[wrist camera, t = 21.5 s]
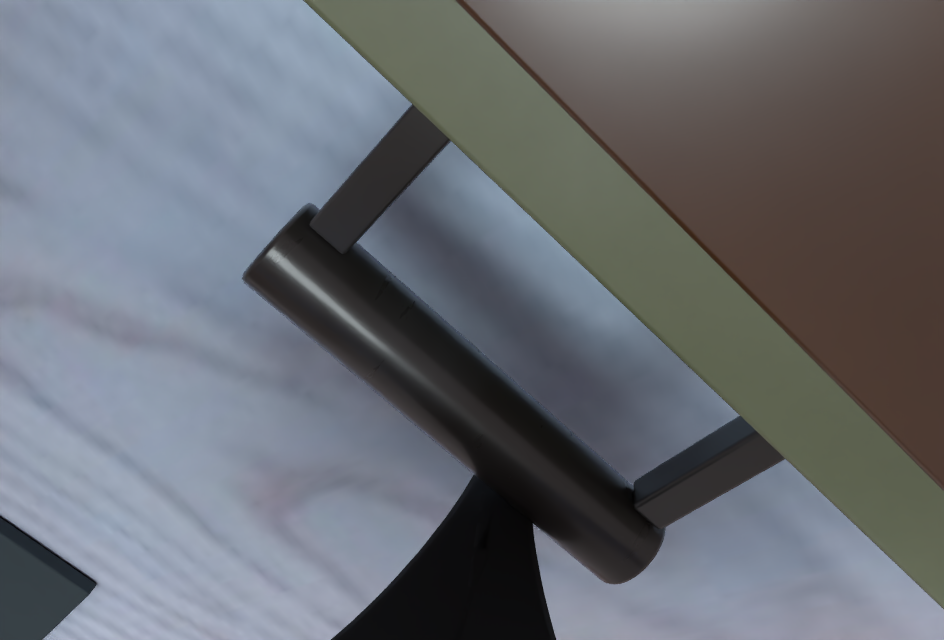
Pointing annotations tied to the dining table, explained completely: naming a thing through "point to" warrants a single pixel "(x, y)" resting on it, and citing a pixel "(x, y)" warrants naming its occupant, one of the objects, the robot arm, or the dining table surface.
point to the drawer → (618, 269)
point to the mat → (34, 587)
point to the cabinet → (780, 163)
